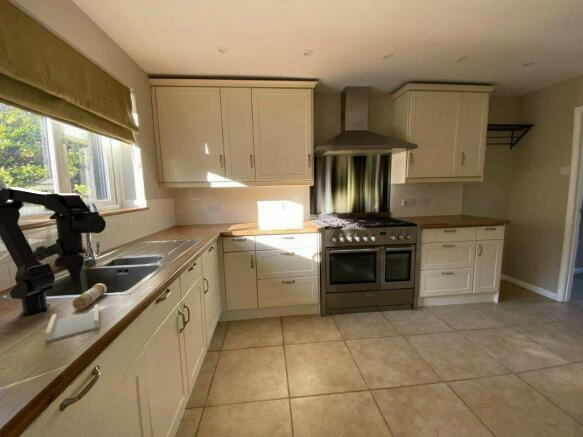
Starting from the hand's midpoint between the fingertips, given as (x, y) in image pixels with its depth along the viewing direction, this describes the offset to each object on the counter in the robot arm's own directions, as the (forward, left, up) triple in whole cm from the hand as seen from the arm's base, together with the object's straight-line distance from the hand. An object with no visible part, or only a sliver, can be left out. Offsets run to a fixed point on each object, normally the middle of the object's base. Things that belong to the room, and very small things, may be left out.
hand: (75, 281), depth 80 cm
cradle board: (+10, 0, -11) cm, 15 cm away
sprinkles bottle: (-1, 0, -8) cm, 8 cm away
